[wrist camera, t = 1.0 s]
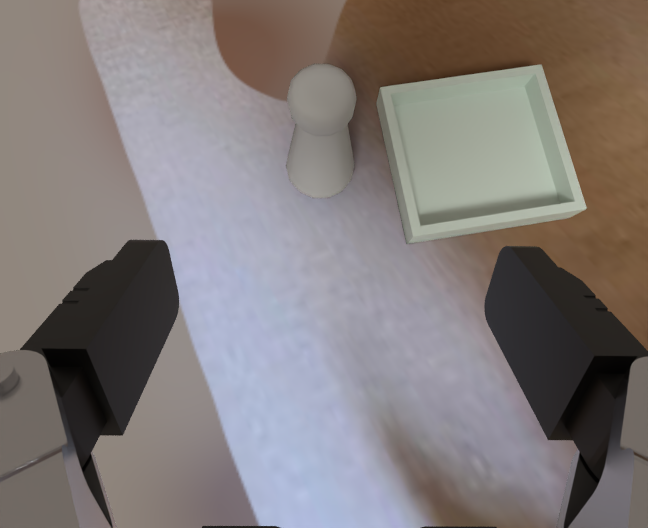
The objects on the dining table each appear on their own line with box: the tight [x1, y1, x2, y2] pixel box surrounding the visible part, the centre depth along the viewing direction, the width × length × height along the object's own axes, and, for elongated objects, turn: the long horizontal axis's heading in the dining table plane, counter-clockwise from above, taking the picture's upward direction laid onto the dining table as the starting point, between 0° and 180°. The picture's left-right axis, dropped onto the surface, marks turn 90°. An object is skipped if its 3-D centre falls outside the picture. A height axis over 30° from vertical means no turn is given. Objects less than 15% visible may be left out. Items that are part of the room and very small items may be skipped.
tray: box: [376, 65, 587, 244], centre depth 36 cm, size 15×14×2 cm
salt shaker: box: [286, 64, 357, 198], centre depth 30 cm, size 6×6×13 cm
